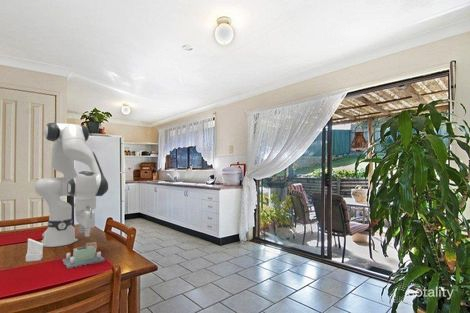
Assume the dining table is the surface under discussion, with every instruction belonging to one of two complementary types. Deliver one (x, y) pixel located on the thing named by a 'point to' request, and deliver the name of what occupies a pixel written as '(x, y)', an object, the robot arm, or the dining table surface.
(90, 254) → the pale green notched block
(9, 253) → the dining table surface
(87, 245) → the tan orange cube
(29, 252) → the white wedge bracket
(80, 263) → the mounting plate
